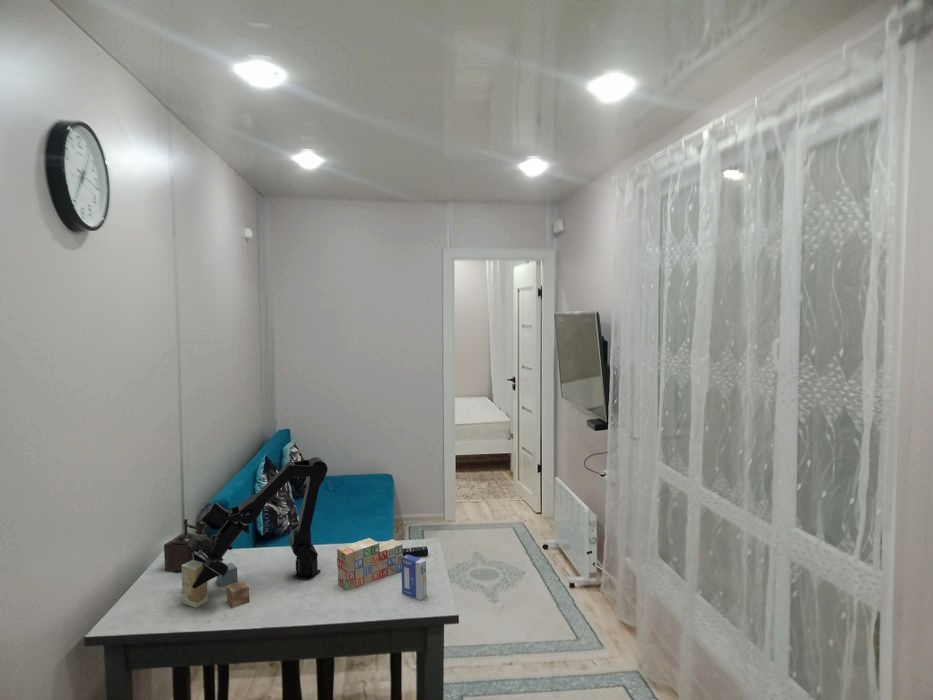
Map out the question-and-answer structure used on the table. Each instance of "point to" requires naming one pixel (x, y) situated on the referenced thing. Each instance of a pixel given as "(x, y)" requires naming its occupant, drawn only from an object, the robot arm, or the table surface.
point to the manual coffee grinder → (181, 547)
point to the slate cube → (228, 576)
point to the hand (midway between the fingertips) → (189, 583)
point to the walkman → (414, 577)
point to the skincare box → (188, 578)
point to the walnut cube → (238, 594)
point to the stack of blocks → (367, 562)
